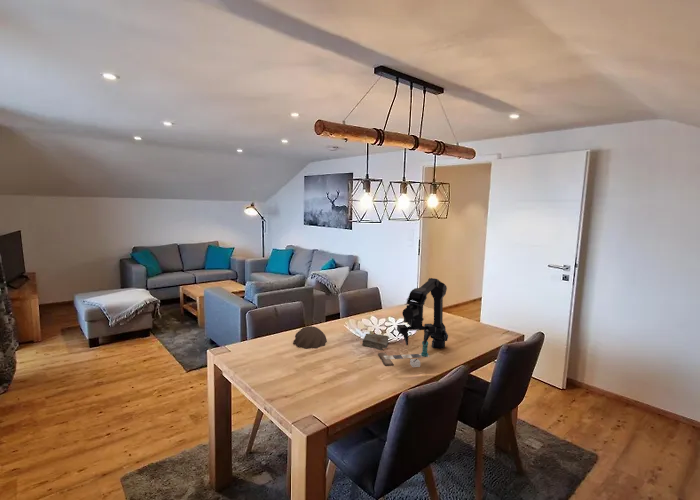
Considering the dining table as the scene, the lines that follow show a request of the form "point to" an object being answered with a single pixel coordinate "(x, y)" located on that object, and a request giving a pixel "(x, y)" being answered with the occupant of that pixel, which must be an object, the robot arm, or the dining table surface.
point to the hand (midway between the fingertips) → (415, 344)
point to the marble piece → (376, 341)
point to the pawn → (424, 349)
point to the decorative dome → (310, 338)
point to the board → (396, 357)
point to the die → (414, 362)
